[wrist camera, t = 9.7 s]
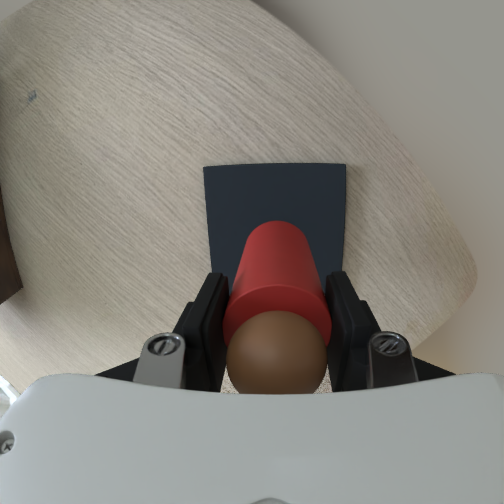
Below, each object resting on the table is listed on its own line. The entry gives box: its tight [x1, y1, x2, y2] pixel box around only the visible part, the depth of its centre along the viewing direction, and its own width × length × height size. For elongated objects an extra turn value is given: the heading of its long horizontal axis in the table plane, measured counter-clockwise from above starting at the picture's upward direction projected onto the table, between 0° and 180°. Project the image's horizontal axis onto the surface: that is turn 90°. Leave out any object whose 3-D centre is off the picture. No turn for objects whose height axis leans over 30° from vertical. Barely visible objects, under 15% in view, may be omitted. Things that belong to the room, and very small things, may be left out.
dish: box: [0, 375, 21, 419], centre depth 35 cm, size 25×25×11 cm
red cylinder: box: [222, 221, 332, 395], centre depth 12 cm, size 4×4×12 cm
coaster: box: [203, 163, 346, 295], centre depth 21 cm, size 10×10×1 cm
